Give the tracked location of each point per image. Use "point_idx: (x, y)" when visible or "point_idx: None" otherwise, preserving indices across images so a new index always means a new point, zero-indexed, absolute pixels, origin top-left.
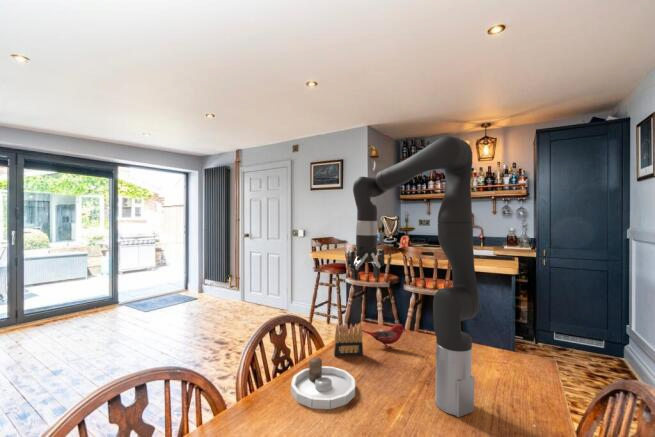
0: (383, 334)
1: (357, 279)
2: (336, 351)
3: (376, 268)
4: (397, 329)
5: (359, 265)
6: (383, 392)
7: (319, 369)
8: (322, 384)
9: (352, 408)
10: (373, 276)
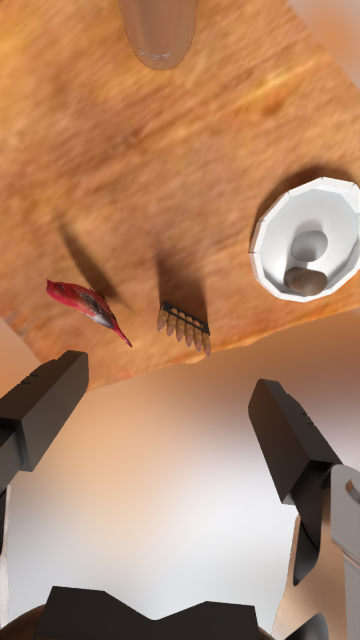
0: (100, 308)
1: (271, 381)
2: (206, 327)
3: (24, 427)
4: (67, 290)
5: (345, 538)
6: (232, 169)
7: (308, 269)
8: (321, 238)
9: (314, 164)
10: (84, 392)
